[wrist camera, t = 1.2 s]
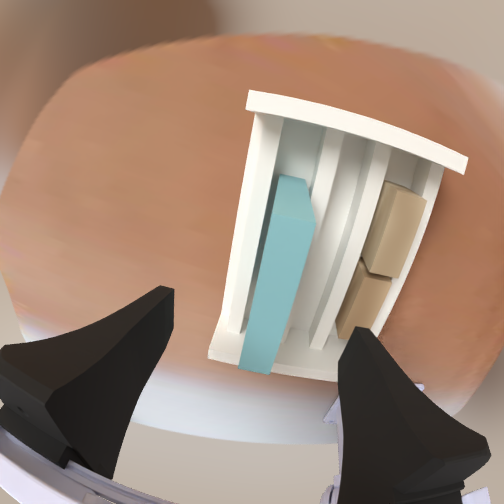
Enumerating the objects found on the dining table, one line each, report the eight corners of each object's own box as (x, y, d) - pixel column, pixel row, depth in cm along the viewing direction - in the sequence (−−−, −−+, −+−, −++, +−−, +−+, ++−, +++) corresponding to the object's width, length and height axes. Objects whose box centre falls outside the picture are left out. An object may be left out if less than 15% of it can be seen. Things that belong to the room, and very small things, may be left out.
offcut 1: (380, 261, 19) (392, 282, 17) (357, 317, 22) (363, 342, 19) (355, 255, 20) (364, 276, 17) (333, 312, 22) (338, 338, 19)
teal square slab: (305, 179, 18) (316, 223, 10) (278, 286, 21) (269, 374, 14) (279, 173, 18) (272, 213, 10) (256, 282, 21) (237, 368, 14)
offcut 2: (405, 186, 17) (427, 200, 14) (383, 253, 19) (398, 278, 16) (379, 178, 17) (397, 190, 14) (357, 247, 19) (369, 272, 16)
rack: (430, 147, 16) (468, 157, 12) (357, 342, 24) (366, 385, 19) (259, 98, 17) (249, 90, 12) (221, 316, 24) (207, 358, 20)
